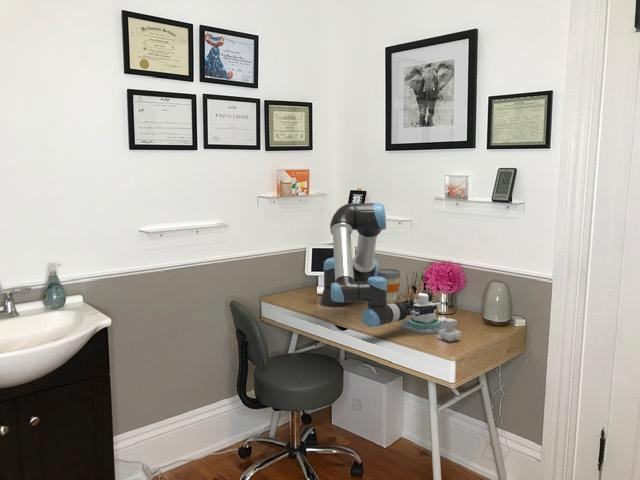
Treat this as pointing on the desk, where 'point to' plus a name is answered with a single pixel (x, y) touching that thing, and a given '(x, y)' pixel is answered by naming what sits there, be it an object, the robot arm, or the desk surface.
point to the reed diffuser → (411, 286)
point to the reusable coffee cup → (391, 282)
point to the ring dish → (420, 331)
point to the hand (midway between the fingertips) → (432, 303)
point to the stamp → (449, 330)
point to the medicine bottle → (424, 300)
